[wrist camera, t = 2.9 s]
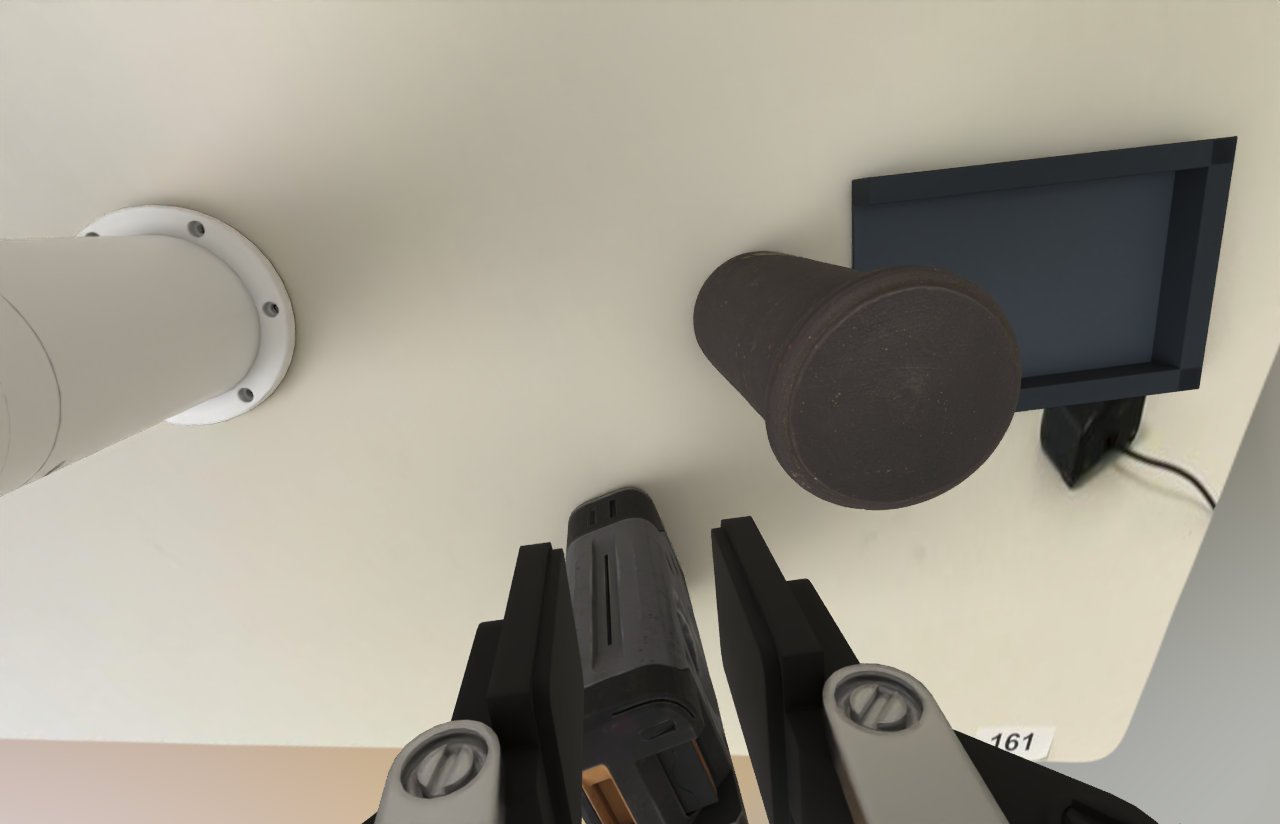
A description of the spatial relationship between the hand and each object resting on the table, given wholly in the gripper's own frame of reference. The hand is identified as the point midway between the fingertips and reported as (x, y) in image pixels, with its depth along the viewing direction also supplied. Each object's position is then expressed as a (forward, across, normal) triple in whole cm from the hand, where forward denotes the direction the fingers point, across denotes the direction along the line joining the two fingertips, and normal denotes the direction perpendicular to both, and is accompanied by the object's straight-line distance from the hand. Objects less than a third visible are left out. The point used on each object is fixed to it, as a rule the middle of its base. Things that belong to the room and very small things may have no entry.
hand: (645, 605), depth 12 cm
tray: (+29, -26, 0) cm, 39 cm away
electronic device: (+29, 0, +15) cm, 33 cm away
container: (+29, -10, 0) cm, 31 cm away
